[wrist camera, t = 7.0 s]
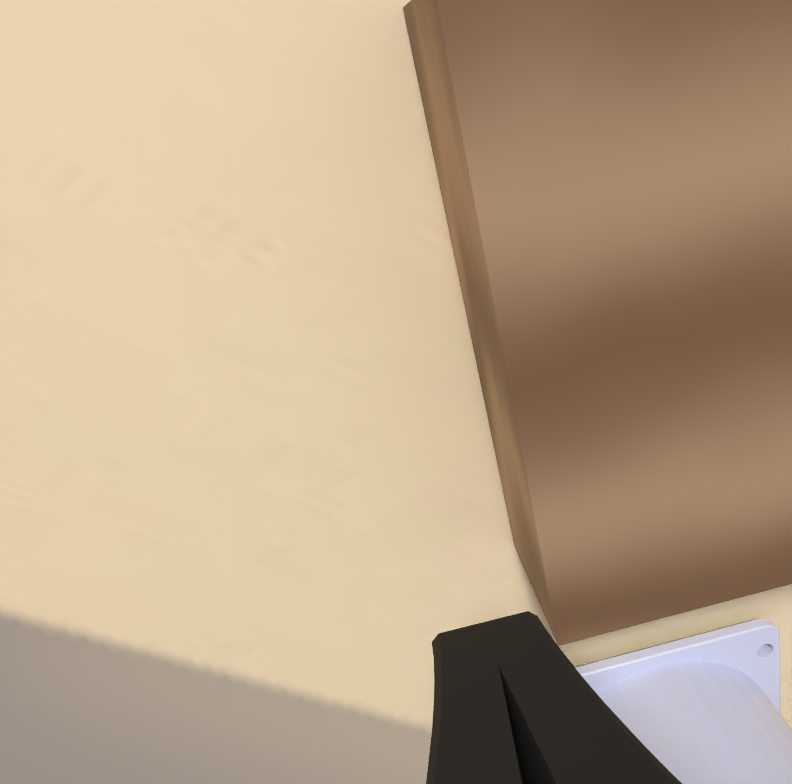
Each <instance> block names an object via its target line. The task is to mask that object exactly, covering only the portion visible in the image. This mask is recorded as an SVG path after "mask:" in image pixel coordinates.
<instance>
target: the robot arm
mask: <svg viewBox="0 0 792 784" xmlns="http://www.w3.org/2000/svg"><path fill="white" fill-rule="evenodd" d="M432 647H433V655H434V675H435V687H434V710H433V727H432V737H431V746H430V755H429V765H428V772H427V781H426V784H792V729H791V728H790V727H789V725H788V724H787V722H786V721H785V720H784V718H783V717H782V716H781V702H780V633H779V630H778V628H777V627H776V626H775V625H774V624H773V622H771V621H770V620H769V619H765V618H762V619H756V620H752V621H748V622H744V623H741V624H737V625H733V626H729V627H725V628H722V629H718V630H714V631H710V632H707V633H703V634H699V635H695V636H692V637H688V638H684V639H680V640H677V641H673V642H669V643H665V644H662V645H658V646H654V647H650V648H647V649H643V650H639V651H635V652H632V653H628V654H624V655H620V656H617V657H613V658H609V659H605V660H601V661H598V662H594V663H590V664H586V665H583V666H579V667H574V666H573V665H572V663H571V662H570V661H569V660H568V658H567V657H566V656H565V655H564V653H563V652H562V651H561V649H560V648H559V647H558V645H557V644H556V643H555V641H554V640H553V639H552V637H551V636H550V634H549V633H548V632H547V630H546V629H545V627H544V626H543V624H542V623H541V621H540V620H539V618H538V616H536V615H534V614H532V613H531V612H529V611H527V612H523V613H519V614H515V615H511V616H507V617H503V618H499V619H495V620H491V621H487V622H483V623H479V624H475V625H471V626H467V627H463V628H459V629H455V630H451V631H447V632H443V633H439V634H438V635H437V636H436V638H435V639H434V640H433V641H432Z"/></svg>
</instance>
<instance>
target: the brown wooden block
mask: <svg viewBox="0 0 792 784" xmlns="http://www.w3.org/2000/svg"><path fill="white" fill-rule="evenodd" d="M403 10H404V15H405V20H406V25H407V30H408V34H409V39H410V44H411V49H412V54H413V58H414V63H415V68H416V73H417V78H418V83H419V87H420V92H421V97H422V102H423V107H424V112H425V116H426V121H427V126H428V131H429V136H430V140H431V145H432V150H433V155H434V160H435V165H436V169H437V174H438V179H439V184H440V189H441V193H442V198H443V203H444V208H445V213H446V218H447V222H448V227H449V232H450V237H451V242H452V247H453V251H454V256H455V261H456V266H457V271H458V275H459V280H460V285H461V290H462V295H463V300H464V304H465V309H466V314H467V319H468V324H469V328H470V333H471V338H472V343H473V348H474V353H475V357H476V362H477V367H478V372H479V377H480V382H481V386H482V391H483V396H484V401H485V406H486V410H487V415H488V420H489V425H490V430H491V435H492V439H493V444H494V449H495V454H496V459H497V463H498V468H499V473H500V478H501V483H502V488H503V492H504V497H505V502H506V507H507V512H508V517H509V521H510V526H511V531H512V536H513V541H514V545H515V548H516V550H517V552H518V554H519V557H520V559H521V561H522V564H523V566H524V568H525V570H526V573H527V575H528V577H529V580H530V582H531V584H532V586H533V589H534V591H535V593H536V596H537V598H538V600H539V602H540V605H541V607H542V609H543V612H544V614H545V616H546V618H547V621H548V623H549V625H550V628H551V630H552V632H553V634H554V637H555V639H556V641H557V644H558V646H559V645H563V644H567V643H571V642H574V641H578V640H582V639H586V638H589V637H593V636H597V635H601V634H604V633H608V632H612V631H616V630H620V629H623V628H627V627H631V626H635V625H638V624H642V623H646V622H650V621H653V620H657V619H661V618H665V617H668V616H672V615H676V614H680V613H683V612H687V611H691V610H695V609H698V608H702V607H706V606H710V605H713V604H717V603H721V602H725V601H729V600H732V599H736V598H740V597H744V596H747V595H751V594H755V593H759V592H762V591H766V590H770V589H774V588H777V587H781V586H785V585H789V584H792V0H411V1H410V2H409V3H408V4H407V5H405V6H404V7H403Z"/></svg>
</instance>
